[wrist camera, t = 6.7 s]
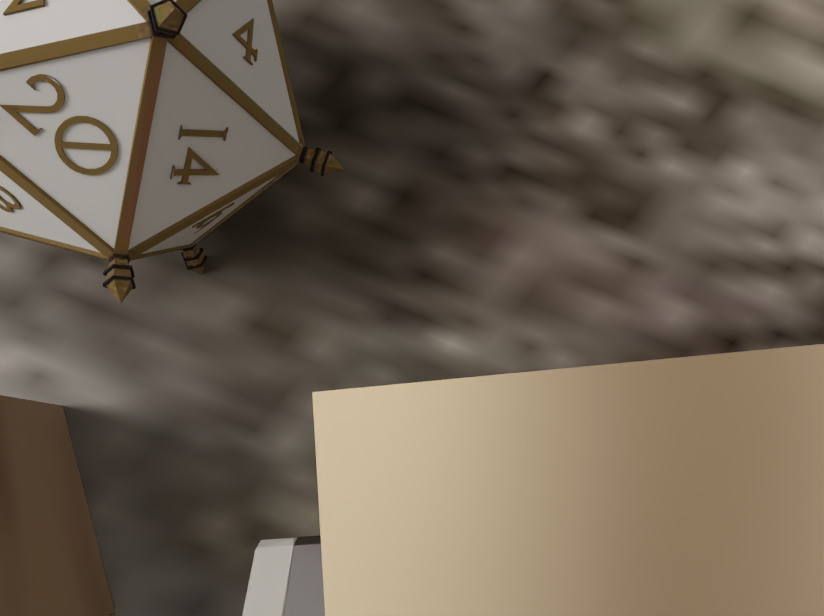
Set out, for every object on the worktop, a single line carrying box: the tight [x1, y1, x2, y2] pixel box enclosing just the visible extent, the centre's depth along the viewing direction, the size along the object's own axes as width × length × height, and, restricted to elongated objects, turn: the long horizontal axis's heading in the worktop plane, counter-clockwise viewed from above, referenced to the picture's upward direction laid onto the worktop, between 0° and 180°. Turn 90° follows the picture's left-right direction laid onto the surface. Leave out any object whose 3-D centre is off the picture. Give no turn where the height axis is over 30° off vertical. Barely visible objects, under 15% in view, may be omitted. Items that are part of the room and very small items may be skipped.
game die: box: [0, 0, 344, 303], centre depth 16 cm, size 9×8×10 cm
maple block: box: [312, 344, 824, 616], centre depth 11 cm, size 5×5×9 cm
